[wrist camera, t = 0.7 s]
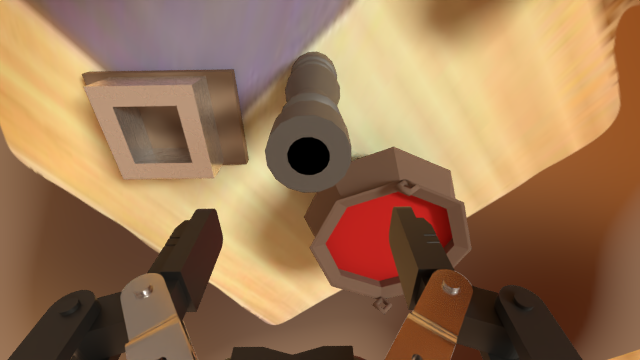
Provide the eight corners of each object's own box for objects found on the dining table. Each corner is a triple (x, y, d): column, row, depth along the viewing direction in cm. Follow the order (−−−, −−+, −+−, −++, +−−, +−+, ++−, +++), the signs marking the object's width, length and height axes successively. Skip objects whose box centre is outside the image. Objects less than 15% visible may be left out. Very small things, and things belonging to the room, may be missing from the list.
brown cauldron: (305, 125, 44) (298, 182, 30) (460, 128, 44) (526, 185, 30) (306, 242, 57) (302, 320, 43) (427, 243, 57) (463, 321, 43)
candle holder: (344, 80, 41) (373, 165, 19) (309, 106, 42) (300, 209, 21) (318, 41, 38) (318, 89, 17) (282, 70, 40) (240, 147, 18)
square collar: (109, 77, 39) (83, 86, 34) (205, 75, 39) (191, 84, 34) (141, 162, 46) (123, 179, 41) (223, 161, 45) (214, 177, 41)
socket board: (89, 71, 40) (81, 74, 38) (233, 69, 40) (231, 71, 38) (126, 161, 47) (120, 166, 46) (248, 159, 47) (246, 164, 46)
